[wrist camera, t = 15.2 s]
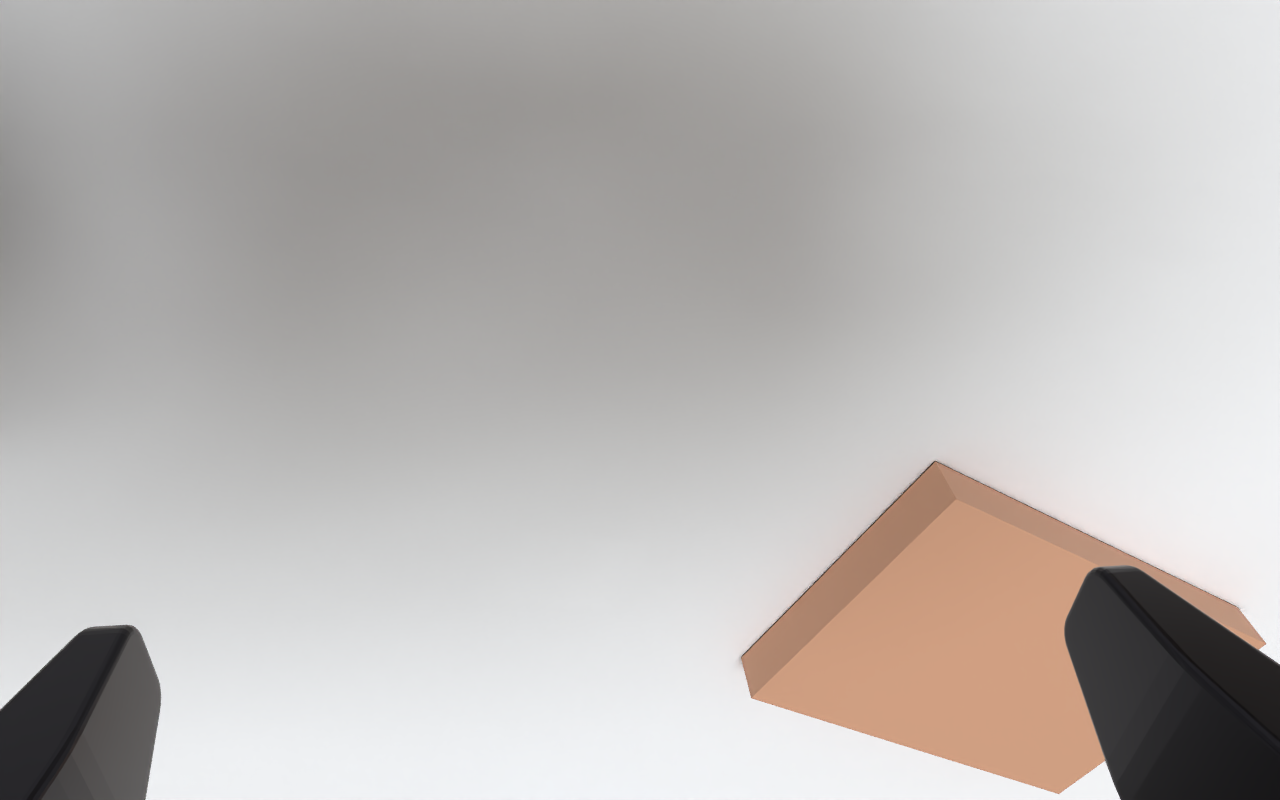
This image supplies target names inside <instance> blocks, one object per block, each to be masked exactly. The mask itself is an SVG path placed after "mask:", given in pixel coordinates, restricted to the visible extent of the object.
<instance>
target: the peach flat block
mask: <svg viewBox="0 0 1280 800" xmlns="http://www.w3.org/2000/svg"><path fill="white" fill-rule="evenodd" d="M1120 565H1129V566H1134V567H1136V568H1139V569H1140V570H1142V571H1144V572H1145V573H1147V574H1148V575H1150V576H1151V577H1153V578H1154V579H1155V580H1157V581H1158V582H1160V583H1161V584H1163V585H1164V586H1166V587H1167V588H1169V589H1170V590H1172V591H1173V592H1174V593H1176V594H1177V595H1179V596H1180V597H1182V598H1183V599H1185V600H1186V601H1188V602H1189V603H1191V604H1192V605H1193V606H1195V607H1196V608H1198V609H1199V610H1201V611H1202V612H1204V613H1205V614H1207V615H1208V616H1210V617H1211V618H1213V619H1214V620H1215V621H1217V622H1218V623H1220V624H1221V625H1223V626H1224V627H1226V628H1227V629H1229V630H1230V631H1232V632H1233V633H1234V634H1236V635H1237V636H1239V637H1240V638H1242V639H1243V640H1245V641H1246V642H1248V643H1249V644H1251V645H1252V646H1253V647H1255V648H1256V649H1258V650H1259V649H1260V648H1261V647H1263V646H1264V645H1265V644H1266V643H1265V641H1264V640H1263V639H1262V638H1261V636H1260V635H1259V634H1258V633H1257V631H1256V630H1255V629H1254V627H1253V626H1252V625H1251V624H1250V622H1249V621H1248V620H1247V619H1246V617H1245V616H1244V615H1243V613H1242V612H1241V611H1240V610H1239V608H1238V607H1236V606H1234V605H1231V604H1229V603H1227V602H1225V601H1223V600H1221V599H1219V598H1217V597H1215V596H1213V595H1211V594H1209V593H1207V592H1205V591H1203V590H1200V589H1198V588H1196V587H1194V586H1192V585H1190V584H1188V583H1186V582H1184V581H1182V580H1180V579H1178V578H1176V577H1174V576H1171V575H1169V574H1167V573H1165V572H1163V571H1161V570H1159V569H1157V568H1155V567H1153V566H1151V565H1149V564H1147V563H1145V562H1143V561H1140V560H1138V559H1136V558H1134V557H1132V556H1130V555H1128V554H1126V553H1124V552H1122V551H1120V550H1118V549H1116V548H1114V547H1112V546H1109V545H1107V544H1105V543H1103V542H1101V541H1099V540H1097V539H1095V538H1093V537H1091V536H1089V535H1087V534H1085V533H1083V532H1080V531H1078V530H1076V529H1074V528H1072V527H1070V526H1068V525H1066V524H1064V523H1062V522H1060V521H1058V520H1056V519H1054V518H1052V517H1049V516H1047V515H1045V514H1043V513H1041V512H1039V511H1037V510H1035V509H1033V508H1031V507H1029V506H1027V505H1025V504H1023V503H1021V502H1018V501H1016V500H1014V499H1012V498H1010V497H1008V496H1006V495H1004V494H1002V493H1000V492H998V491H996V490H994V489H992V488H989V487H987V486H985V485H983V484H981V483H979V482H977V481H975V480H973V479H971V478H969V477H967V476H965V475H963V474H961V473H958V472H956V471H954V470H952V469H950V468H948V467H946V466H944V465H942V464H940V463H938V462H936V461H935V462H934V463H933V464H932V465H931V466H930V467H929V468H928V469H927V470H926V471H925V472H924V473H923V474H922V475H921V476H920V477H919V478H918V479H917V480H916V481H915V483H914V484H913V485H912V486H911V487H910V488H909V489H908V490H907V491H906V492H905V493H904V494H903V495H902V496H901V497H900V498H899V499H898V500H897V501H896V502H895V503H894V504H893V505H892V506H891V507H890V508H889V509H888V510H887V511H886V512H885V513H884V514H883V515H882V516H881V517H880V518H879V519H878V520H877V521H876V522H875V523H874V524H873V525H872V526H871V527H870V528H869V529H868V530H867V531H866V532H865V533H864V534H863V535H862V536H861V537H860V538H859V539H858V540H857V541H856V542H855V543H854V544H853V545H852V546H851V547H850V548H849V549H848V550H847V551H846V552H845V553H844V554H843V555H842V556H841V557H840V558H839V559H838V560H837V561H836V562H835V563H834V564H833V565H832V566H831V567H830V568H829V569H828V570H827V572H826V573H825V574H824V575H823V576H822V577H821V578H820V579H819V580H818V581H817V582H816V583H815V584H814V585H813V586H812V587H811V588H810V589H809V590H808V591H807V592H806V593H805V594H804V595H803V596H802V597H801V598H800V599H799V600H798V601H797V602H796V603H795V604H794V605H793V606H792V607H791V608H790V609H789V610H788V611H787V612H786V613H785V614H784V615H783V616H782V617H781V618H780V619H779V620H778V621H777V622H776V623H775V624H774V625H773V626H772V627H771V628H770V629H769V630H768V631H767V632H766V633H765V634H764V635H763V636H762V637H761V638H760V639H759V640H758V641H757V642H756V643H755V644H754V645H753V646H752V647H751V648H750V649H749V650H748V651H747V652H746V653H745V654H744V655H743V656H742V657H741V659H742V663H743V667H744V671H745V675H746V679H747V683H748V687H749V691H750V695H751V698H752V699H756V700H759V701H762V702H765V703H768V704H772V705H775V706H778V707H781V708H785V709H788V710H791V711H794V712H797V713H801V714H804V715H807V716H810V717H813V718H817V719H820V720H823V721H826V722H830V723H833V724H836V725H839V726H842V727H846V728H849V729H852V730H855V731H858V732H862V733H865V734H868V735H871V736H874V737H878V738H881V739H884V740H887V741H891V742H894V743H897V744H900V745H903V746H907V747H910V748H913V749H916V750H919V751H923V752H926V753H929V754H932V755H935V756H939V757H942V758H945V759H948V760H952V761H955V762H958V763H961V764H964V765H968V766H971V767H974V768H977V769H980V770H984V771H987V772H990V773H993V774H996V775H1000V776H1003V777H1006V778H1009V779H1013V780H1016V781H1019V782H1022V783H1025V784H1029V785H1032V786H1035V787H1038V788H1041V789H1045V790H1048V791H1051V792H1054V793H1057V794H1059V793H1061V792H1062V791H1064V790H1065V789H1066V788H1068V787H1069V786H1071V785H1072V784H1073V783H1075V782H1076V781H1077V780H1079V779H1080V778H1082V777H1083V776H1084V775H1086V774H1087V773H1089V772H1090V771H1091V770H1093V769H1094V768H1095V767H1097V766H1098V765H1100V764H1101V763H1102V762H1104V761H1105V758H1104V755H1103V752H1102V749H1101V746H1100V743H1099V740H1098V737H1097V735H1096V732H1095V729H1094V726H1093V723H1092V720H1091V717H1090V714H1089V711H1088V708H1087V705H1086V702H1085V699H1084V696H1083V693H1082V691H1081V688H1080V685H1079V682H1078V679H1077V676H1076V673H1075V670H1074V667H1073V664H1072V661H1071V658H1070V655H1069V652H1068V649H1067V646H1066V643H1065V637H1064V626H1065V620H1066V618H1067V615H1068V613H1069V611H1070V609H1071V607H1072V604H1073V602H1074V600H1075V598H1076V596H1077V594H1078V591H1079V589H1080V587H1081V585H1082V583H1083V581H1084V578H1085V577H1086V575H1087V573H1088V572H1089V571H1091V570H1092V569H1093V568H1096V567H1103V566H1120Z"/></svg>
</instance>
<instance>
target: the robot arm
mask: <svg viewBox="0 0 1280 800" xmlns="http://www.w3.org/2000/svg"><path fill="white" fill-rule="evenodd" d="M1064 637H1065V643H1066V646H1067V649H1068V652H1069V655H1070V658H1071V661H1072V664H1073V667H1074V670H1075V673H1076V676H1077V679H1078V682H1079V685H1080V688H1081V691H1082V693H1083V696H1084V699H1085V702H1086V705H1087V708H1088V711H1089V714H1090V717H1091V720H1092V723H1093V726H1094V729H1095V732H1096V735H1097V737H1098V740H1099V743H1100V746H1101V749H1102V752H1103V755H1104V758H1105V761H1106V764H1107V766H1108V769H1109V772H1110V774H1111V777H1112V780H1113V782H1114V785H1115V787H1116V790H1117V792H1118V794H1119V797H1120V799H1121V800H1280V664H1278V663H1277V662H1275V661H1274V660H1272V659H1271V658H1270V657H1268V656H1267V655H1265V654H1264V653H1262V652H1261V651H1259V650H1258V649H1256V648H1255V647H1253V646H1252V645H1251V644H1249V643H1248V642H1246V641H1245V640H1243V639H1242V638H1240V637H1239V636H1237V635H1236V634H1234V633H1233V632H1232V631H1230V630H1229V629H1227V628H1226V627H1224V626H1223V625H1221V624H1220V623H1218V622H1217V621H1215V620H1214V619H1213V618H1211V617H1210V616H1208V615H1207V614H1205V613H1204V612H1202V611H1201V610H1199V609H1198V608H1196V607H1195V606H1193V605H1192V604H1191V603H1189V602H1188V601H1186V600H1185V599H1183V598H1182V597H1180V596H1179V595H1177V594H1176V593H1174V592H1173V591H1172V590H1170V589H1169V588H1167V587H1166V586H1164V585H1163V584H1161V583H1160V582H1158V581H1157V580H1155V579H1154V578H1153V577H1151V576H1150V575H1148V574H1147V573H1145V572H1144V571H1142V570H1140V569H1139V568H1136V567H1134V566H1129V565H1120V566H1103V567H1096V568H1093V569H1092V570H1091V571H1089V572H1088V573H1087V575H1086V577H1085V578H1084V581H1083V583H1082V585H1081V587H1080V589H1079V591H1078V594H1077V596H1076V598H1075V600H1074V602H1073V604H1072V607H1071V609H1070V611H1069V613H1068V615H1067V618H1066V620H1065V626H1064ZM160 706H161V689H160V683H159V680H158V677H157V674H156V672H155V669H154V667H153V664H152V661H151V659H150V656H149V654H148V651H147V649H146V646H145V643H144V641H143V638H142V636H141V634H140V632H139V630H137V629H136V628H135V627H134V626H131V625H116V626H99V627H90V628H87V629H85V630H83V631H81V632H80V633H78V634H77V635H76V636H75V637H74V638H73V639H72V640H71V641H70V642H69V643H68V644H67V645H66V646H65V647H64V648H63V649H62V650H61V651H60V652H59V653H58V654H57V655H55V656H54V657H53V658H52V659H51V660H50V661H49V662H48V663H47V664H46V665H45V666H44V667H43V668H42V669H41V670H40V671H39V672H38V673H37V674H36V675H35V676H34V677H33V678H32V679H31V680H30V681H29V682H28V683H27V684H26V685H25V686H24V687H23V688H22V689H21V690H20V691H19V692H18V693H17V694H16V695H15V696H14V697H13V698H12V699H11V700H10V701H9V702H8V703H7V704H6V705H5V706H4V707H3V708H2V709H1V710H0V800H145V799H146V793H147V787H148V780H149V774H150V768H151V762H152V756H153V750H154V744H155V738H156V732H157V726H158V719H159V713H160Z"/></svg>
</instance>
